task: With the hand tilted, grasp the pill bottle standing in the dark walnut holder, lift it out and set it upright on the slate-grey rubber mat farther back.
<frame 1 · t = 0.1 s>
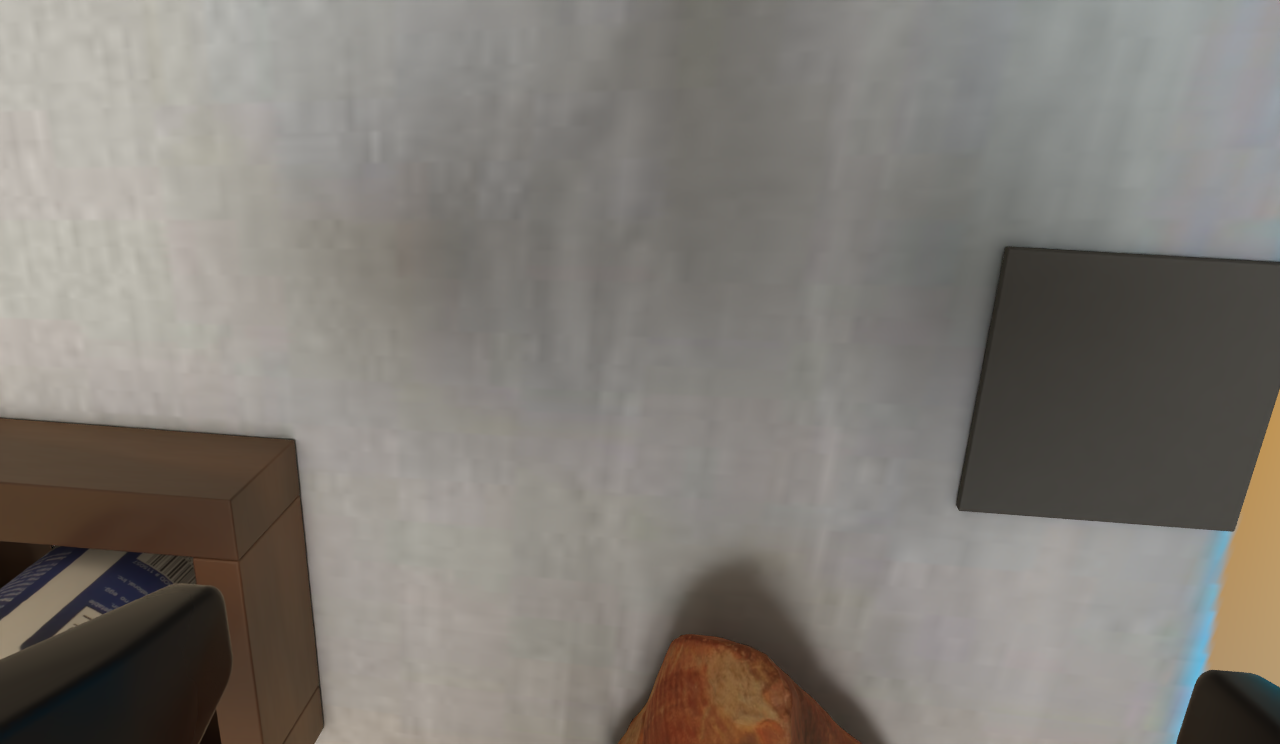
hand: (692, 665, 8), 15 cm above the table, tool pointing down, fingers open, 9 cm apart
pill bottle: (167, 577, 27), resting in holder
holder: (164, 580, 26), on the table
mat: (1121, 392, 22), on the table
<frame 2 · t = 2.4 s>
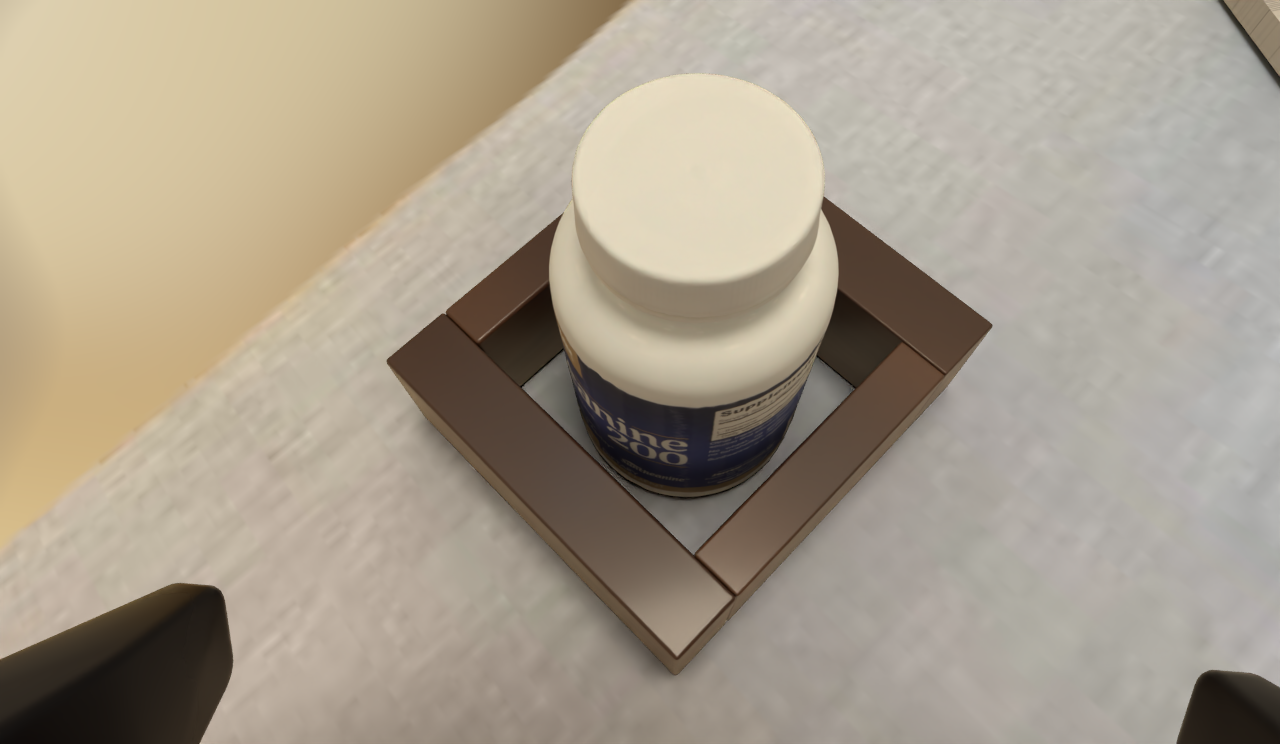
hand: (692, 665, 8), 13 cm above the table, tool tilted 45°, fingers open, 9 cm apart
pill bottle: (685, 403, 23), resting in holder
holder: (685, 400, 23), on the table
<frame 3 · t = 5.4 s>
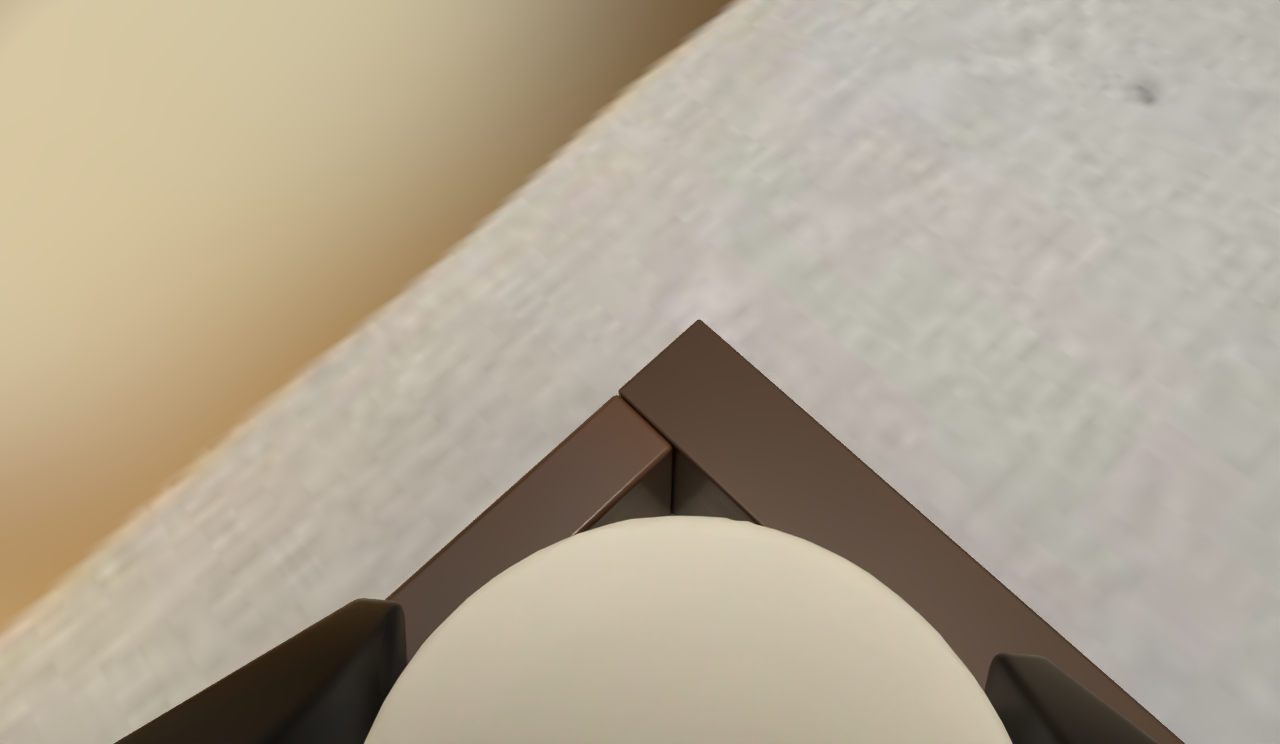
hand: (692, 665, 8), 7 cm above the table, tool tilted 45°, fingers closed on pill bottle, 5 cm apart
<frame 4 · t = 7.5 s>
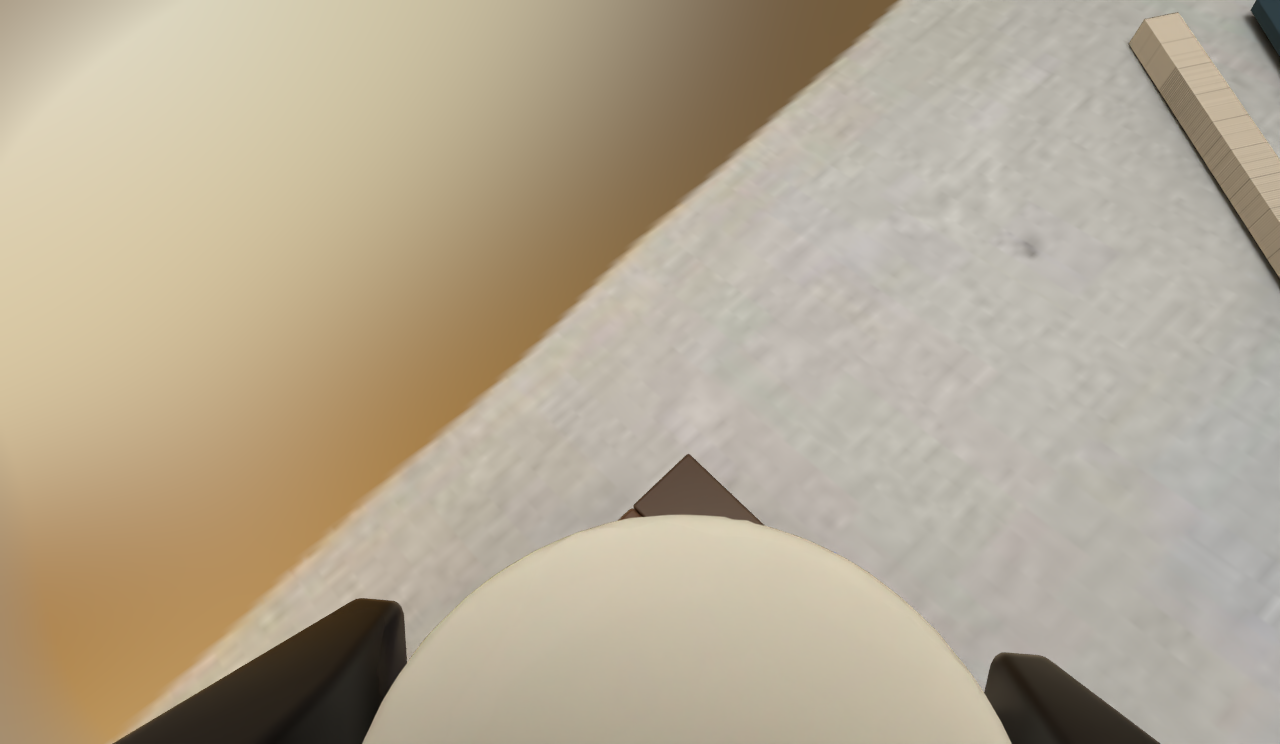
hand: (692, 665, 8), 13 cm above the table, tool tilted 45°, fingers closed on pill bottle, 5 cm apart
beige wooden bar: (1243, 200, 26), on the table
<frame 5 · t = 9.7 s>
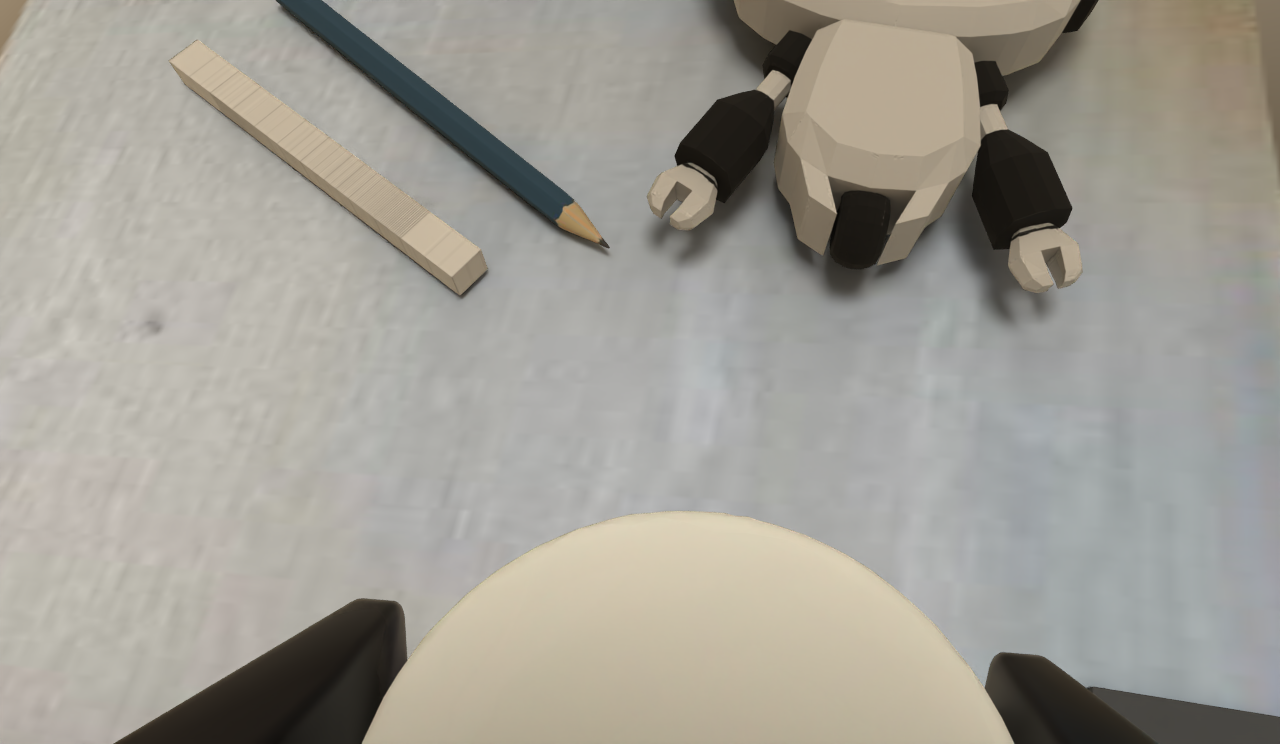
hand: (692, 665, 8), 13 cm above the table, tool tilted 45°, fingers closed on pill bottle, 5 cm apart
robot toy: (870, 97, 28), on the table
beige wooden bar: (329, 174, 27), on the table
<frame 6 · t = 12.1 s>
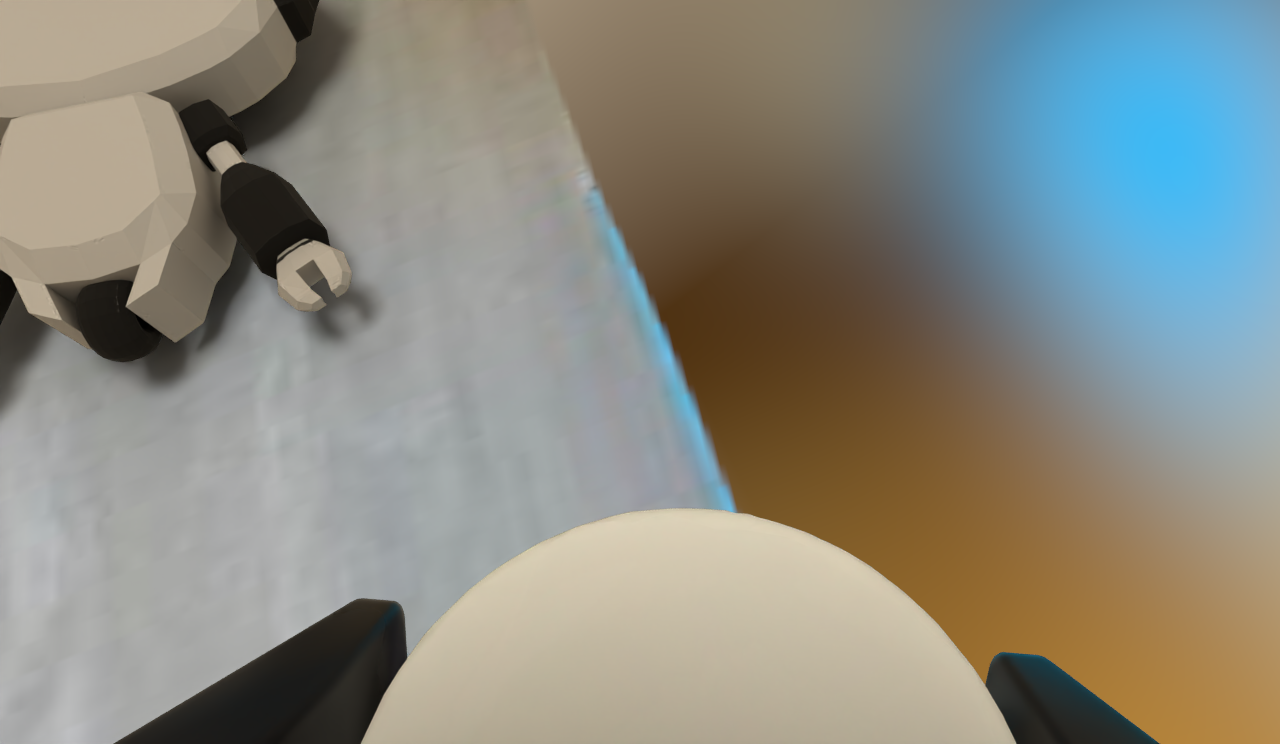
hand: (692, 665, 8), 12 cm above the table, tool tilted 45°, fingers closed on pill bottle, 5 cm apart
robot toy: (163, 166, 26), on the table
when the fingers open (7 cm above the table, at t = 14.0 s): pill bottle stays where it is, resting on mat.
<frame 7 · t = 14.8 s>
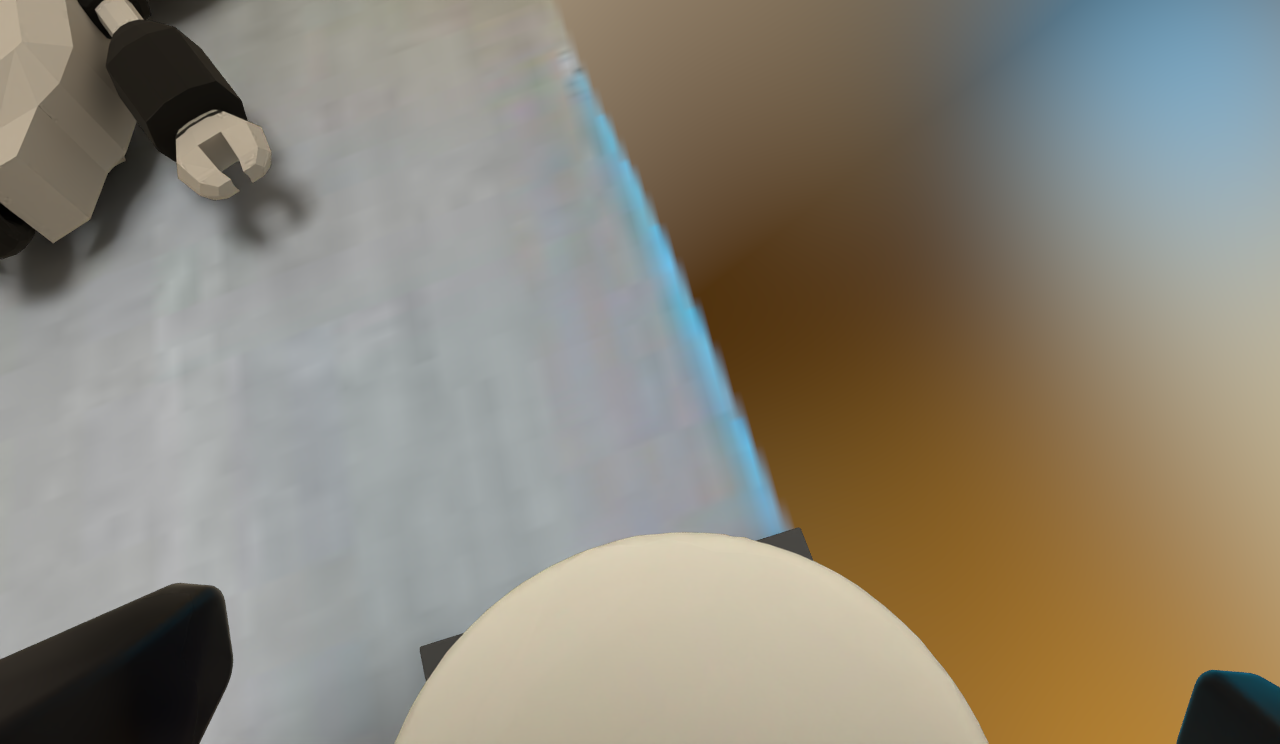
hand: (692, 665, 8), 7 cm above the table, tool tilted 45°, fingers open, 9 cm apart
robot toy: (60, 49, 22), on the table
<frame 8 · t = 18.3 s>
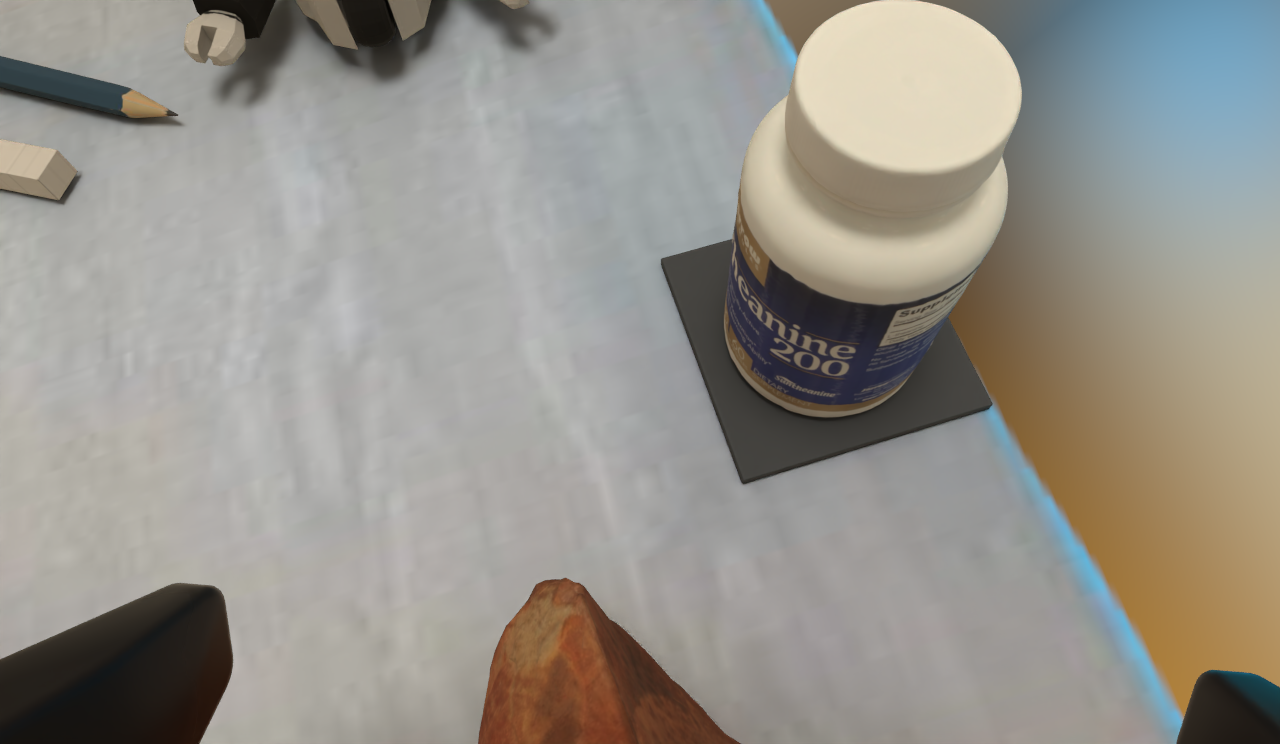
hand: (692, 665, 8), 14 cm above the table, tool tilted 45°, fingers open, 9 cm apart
pill bottle: (818, 336, 25), resting on mat
mat: (818, 333, 25), on the table
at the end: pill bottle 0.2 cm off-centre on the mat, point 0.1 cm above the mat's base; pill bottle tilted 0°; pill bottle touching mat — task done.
